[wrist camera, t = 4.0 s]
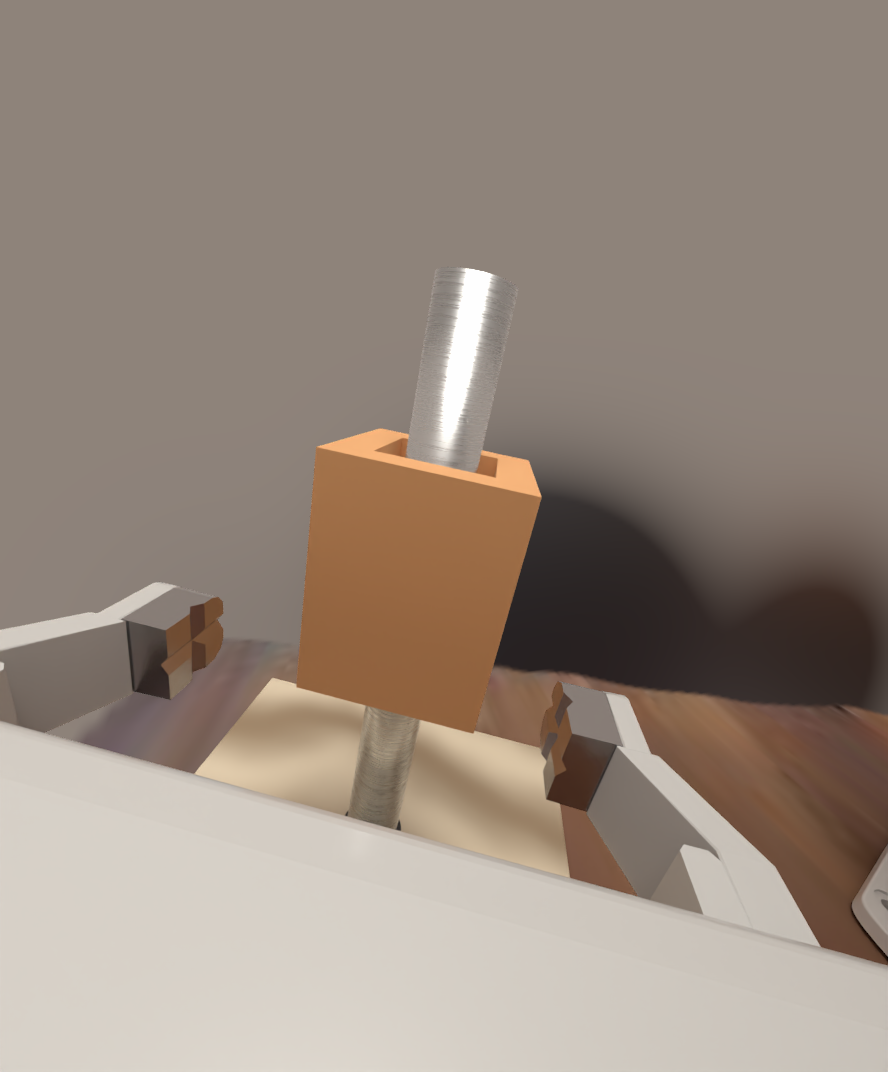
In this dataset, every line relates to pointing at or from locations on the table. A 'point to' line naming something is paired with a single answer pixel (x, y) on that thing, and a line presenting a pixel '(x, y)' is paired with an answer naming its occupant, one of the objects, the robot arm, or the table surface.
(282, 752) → the pipe stand
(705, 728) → the table surface
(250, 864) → the robot arm
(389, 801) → the steel pipe
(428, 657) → the sleeve
